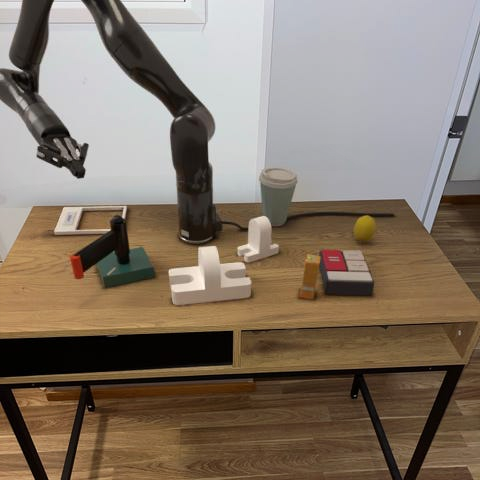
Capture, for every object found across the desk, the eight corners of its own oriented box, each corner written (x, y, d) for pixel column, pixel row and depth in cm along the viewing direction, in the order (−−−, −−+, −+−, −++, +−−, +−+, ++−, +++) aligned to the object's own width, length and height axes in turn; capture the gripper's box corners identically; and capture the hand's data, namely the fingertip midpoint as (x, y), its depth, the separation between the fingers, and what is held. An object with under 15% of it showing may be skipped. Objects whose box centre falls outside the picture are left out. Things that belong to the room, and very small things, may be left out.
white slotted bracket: (251, 297, 114) (253, 257, 108) (173, 305, 111) (170, 265, 104) (242, 274, 122) (244, 235, 115) (169, 281, 119) (165, 242, 112)
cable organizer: (279, 252, 130) (282, 218, 124) (247, 263, 126) (248, 227, 119) (267, 243, 133) (270, 209, 127) (236, 253, 129) (237, 218, 123)
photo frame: (63, 206, 145) (126, 205, 146) (64, 210, 145) (126, 208, 147) (53, 231, 133) (121, 229, 135) (54, 234, 134) (122, 233, 136)
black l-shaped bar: (121, 247, 120) (115, 210, 114) (133, 251, 119) (128, 214, 113) (71, 283, 108) (61, 243, 102) (83, 288, 107) (75, 248, 101)
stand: (143, 256, 127) (141, 239, 124) (154, 277, 120) (152, 259, 117) (96, 266, 123) (93, 248, 120) (104, 287, 116) (101, 269, 113)
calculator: (363, 248, 125) (375, 280, 113) (360, 263, 128) (372, 295, 116) (319, 247, 125) (327, 278, 113) (317, 262, 128) (325, 294, 116)
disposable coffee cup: (274, 209, 149) (278, 160, 140) (301, 222, 143) (307, 172, 134) (248, 220, 143) (251, 170, 134) (275, 234, 137) (279, 183, 128)
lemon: (349, 244, 134) (354, 217, 129) (354, 235, 138) (359, 209, 133) (370, 249, 133) (376, 222, 128) (374, 239, 137) (379, 213, 132)
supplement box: (314, 300, 114) (319, 263, 108) (299, 298, 115) (304, 261, 108) (315, 292, 117) (321, 255, 110) (301, 290, 117) (305, 253, 111)
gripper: (19, 113, 110) (55, 164, 105) (74, 112, 119) (110, 159, 113) (17, 142, 115) (51, 192, 110) (70, 139, 124) (104, 185, 118)
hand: (81, 175), depth 111 cm, fingers closed
